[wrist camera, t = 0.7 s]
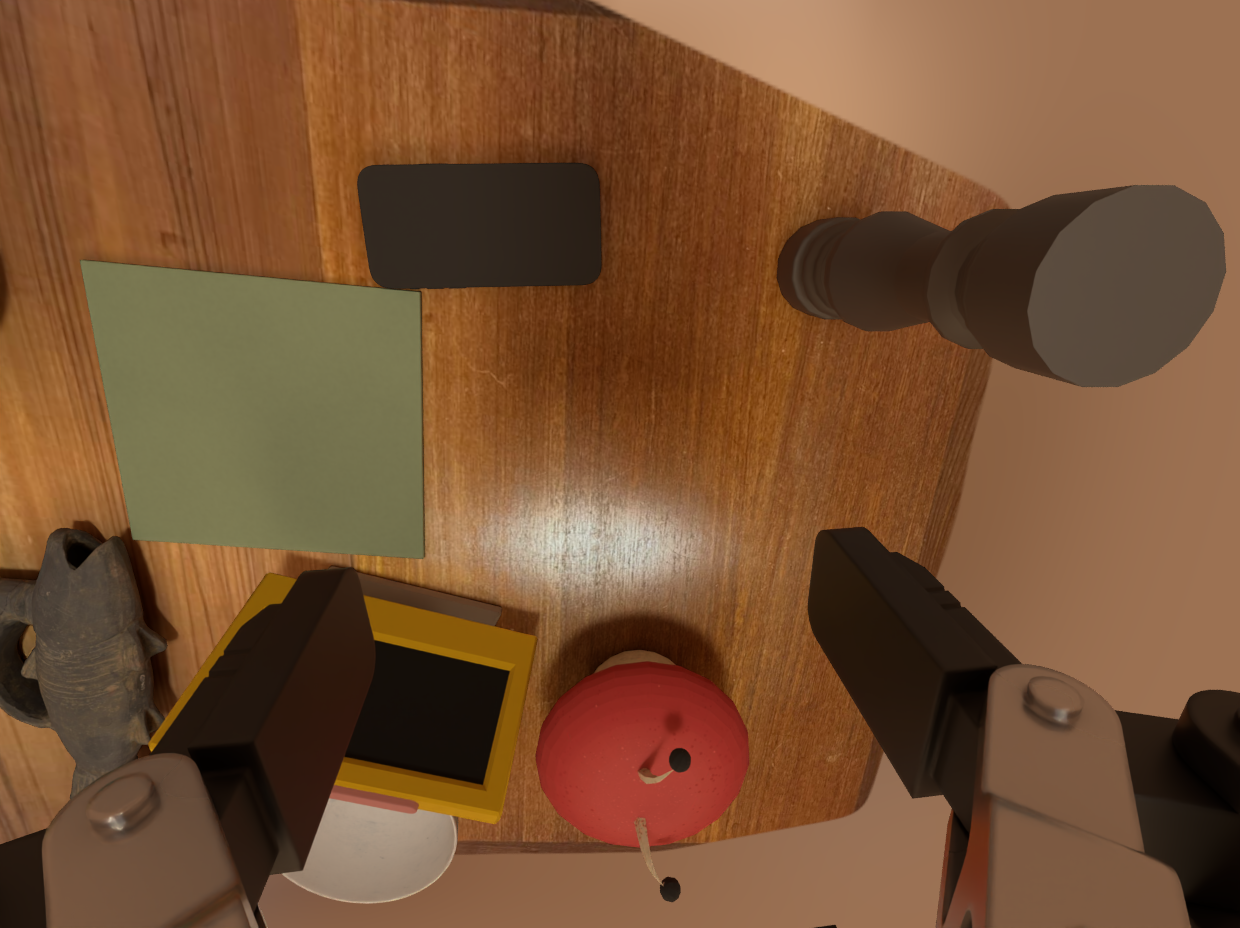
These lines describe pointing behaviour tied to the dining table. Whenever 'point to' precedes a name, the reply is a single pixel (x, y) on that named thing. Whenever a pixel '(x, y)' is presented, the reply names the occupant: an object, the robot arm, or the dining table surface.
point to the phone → (481, 224)
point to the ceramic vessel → (81, 653)
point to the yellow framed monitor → (422, 700)
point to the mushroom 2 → (642, 754)
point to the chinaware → (376, 853)
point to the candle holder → (1027, 279)
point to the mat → (263, 408)
